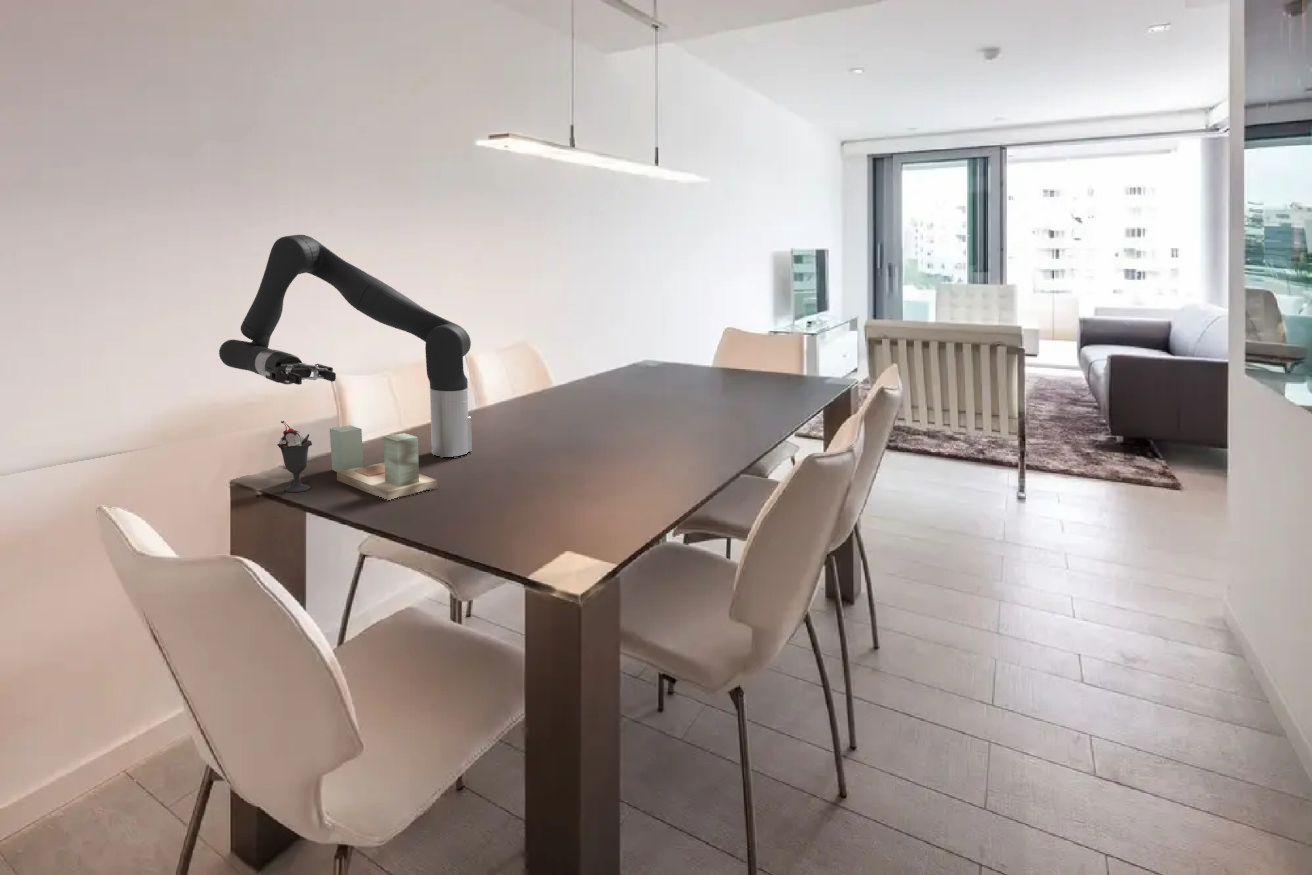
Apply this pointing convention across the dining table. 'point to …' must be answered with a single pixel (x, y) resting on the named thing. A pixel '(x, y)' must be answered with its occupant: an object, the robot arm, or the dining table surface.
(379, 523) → the dining table surface
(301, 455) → the sundae
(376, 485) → the board
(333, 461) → the green block
